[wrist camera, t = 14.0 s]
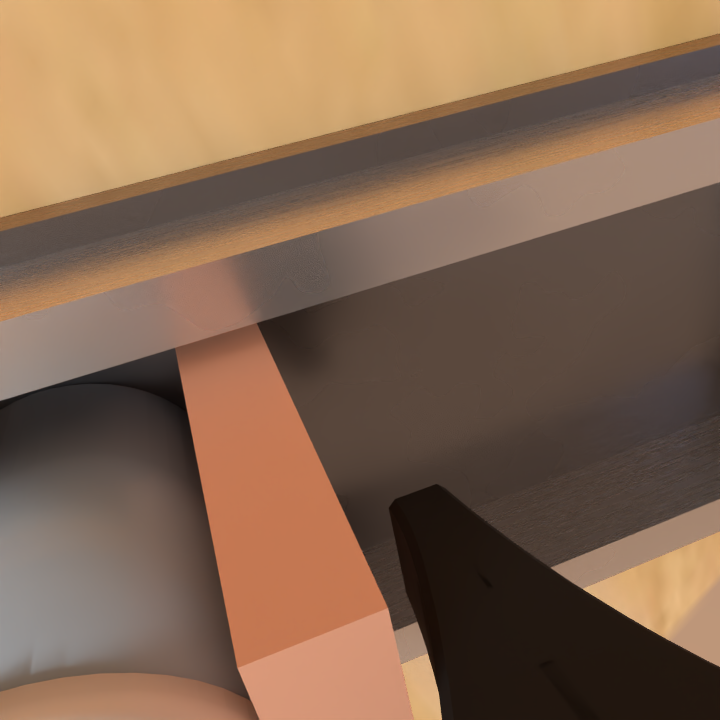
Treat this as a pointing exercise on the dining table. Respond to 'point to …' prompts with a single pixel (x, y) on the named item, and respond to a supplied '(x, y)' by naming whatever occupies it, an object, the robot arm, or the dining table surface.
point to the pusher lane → (436, 306)
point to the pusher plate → (285, 546)
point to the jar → (109, 564)
